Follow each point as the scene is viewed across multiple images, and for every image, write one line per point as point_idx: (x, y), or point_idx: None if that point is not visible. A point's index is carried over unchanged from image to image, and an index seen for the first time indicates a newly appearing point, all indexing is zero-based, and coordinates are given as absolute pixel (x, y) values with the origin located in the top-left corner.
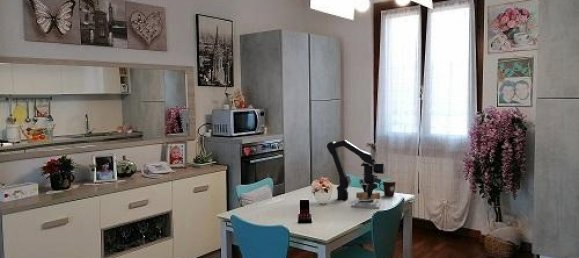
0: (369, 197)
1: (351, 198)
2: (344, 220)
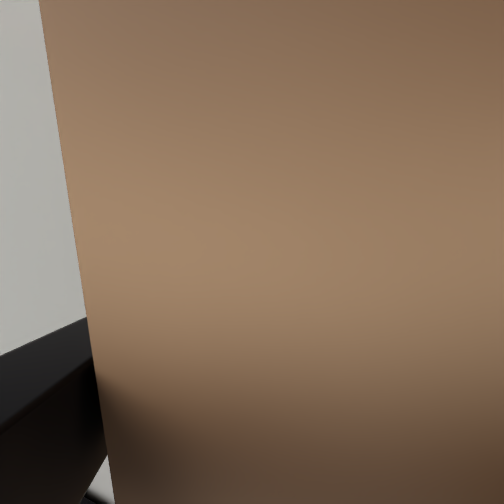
0: None
1: None
2: None
